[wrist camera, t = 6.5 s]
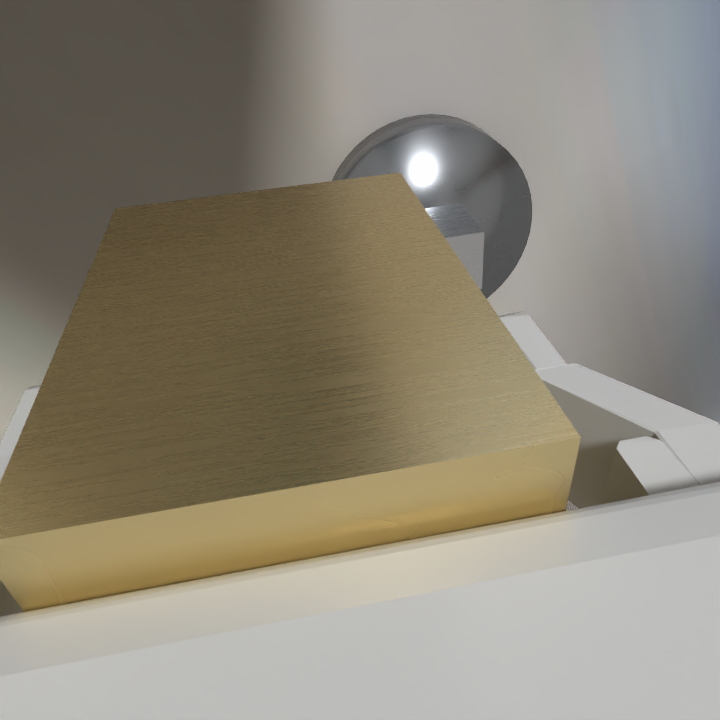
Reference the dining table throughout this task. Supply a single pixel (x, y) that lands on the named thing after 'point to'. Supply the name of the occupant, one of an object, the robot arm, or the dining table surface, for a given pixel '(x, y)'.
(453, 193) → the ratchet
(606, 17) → the dining table surface
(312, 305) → the tan rectangular block
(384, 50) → the dining table surface
